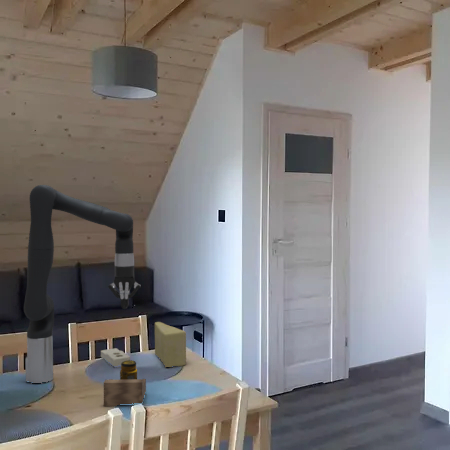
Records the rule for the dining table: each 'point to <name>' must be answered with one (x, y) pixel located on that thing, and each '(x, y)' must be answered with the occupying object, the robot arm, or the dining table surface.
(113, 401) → the dark wood block
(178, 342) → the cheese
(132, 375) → the condiment
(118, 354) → the electrical outlet
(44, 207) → the robot arm
